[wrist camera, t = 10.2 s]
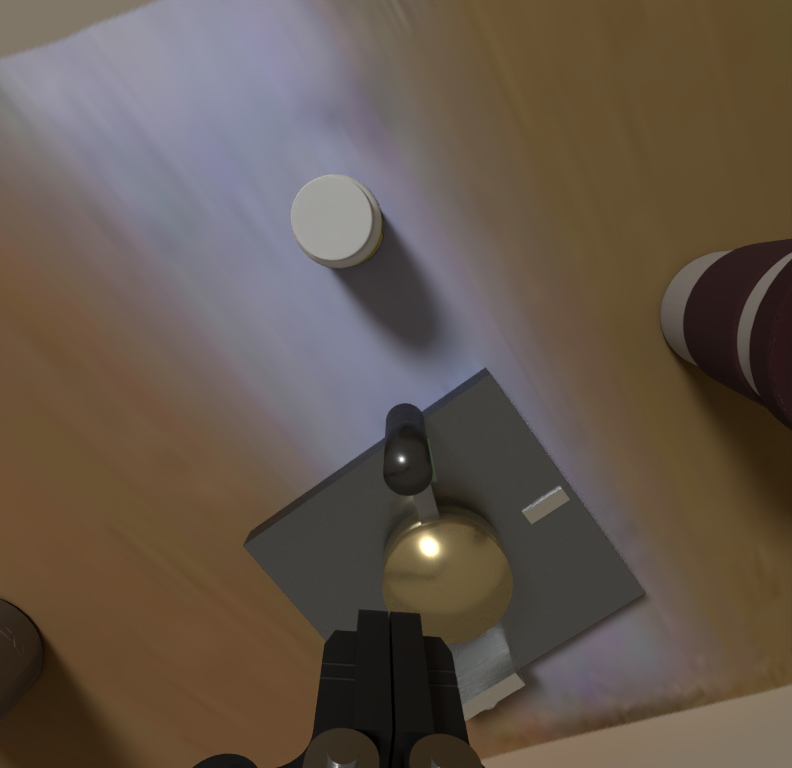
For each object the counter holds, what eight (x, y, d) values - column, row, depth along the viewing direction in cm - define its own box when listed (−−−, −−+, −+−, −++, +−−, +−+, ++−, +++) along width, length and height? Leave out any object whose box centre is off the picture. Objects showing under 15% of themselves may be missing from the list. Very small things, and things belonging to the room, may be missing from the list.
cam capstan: (515, 599, 38) (547, 693, 30) (400, 626, 39) (402, 725, 31) (462, 387, 35) (483, 429, 27) (338, 420, 36) (321, 470, 27)
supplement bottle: (399, 235, 36) (401, 230, 27) (340, 281, 36) (324, 290, 28) (352, 170, 35) (339, 145, 26) (292, 218, 35) (261, 208, 27)
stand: (410, 717, 44) (412, 767, 39) (250, 531, 40) (233, 564, 36) (635, 579, 41) (663, 617, 37) (485, 367, 37) (497, 382, 33)
